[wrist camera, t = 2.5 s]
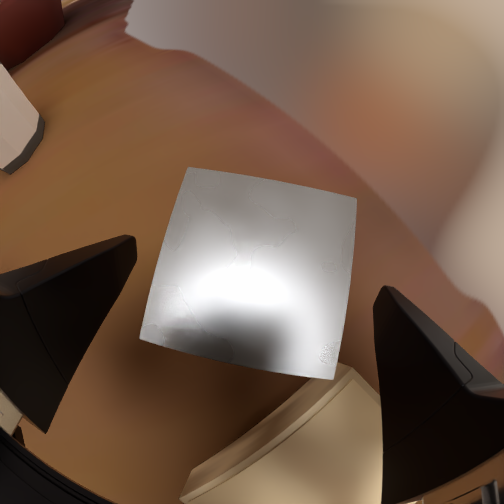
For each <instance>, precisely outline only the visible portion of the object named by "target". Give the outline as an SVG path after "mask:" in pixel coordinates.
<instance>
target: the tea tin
mask: <svg viewBox="0 0 504 504" xmlns="http://www.w3.org/2000/svg"><path fill="white" fill-rule="evenodd" d="M356 207H357V198H353V197H349V196H345V195H340V194H336V193H332V192H328V191H323V190H319V189H314V188H310V187H305V186H300V185H295V184H290V183H285V182H280V181H275V180H269V179H264V178H258V177H252V176H246V175H240V174H234V173H228V172H221V171H214V170H207V169H199V168H191V167H188V169H187V171H186V174H185V177H184V180H183V182H182V185H181V188H180V191H179V194H178V197H177V200H176V203H175V206H174V209H173V212H172V215H171V218H170V222H169V225H168V228H167V231H166V235H165V238H164V241H163V245H162V248H161V252H160V255H159V259H158V262H157V266H156V270H155V274H154V277H153V281H152V285H151V289H150V293H149V297H148V302H147V306H146V310H145V315H144V319H143V324H142V328H141V333H140V338H139V339H142V340H145V341H148V342H151V343H154V344H157V345H161V346H164V347H167V348H171V349H174V350H178V351H181V352H185V353H189V354H193V355H196V356H200V357H204V358H208V359H213V360H217V361H221V362H226V363H230V364H235V365H240V366H245V367H250V368H255V369H260V370H266V371H271V372H277V373H284V374H290V375H297V376H305V377H312V378H321V379H330V380H333V379H334V374H335V370H336V365H337V360H338V355H339V350H340V345H341V339H342V334H343V328H344V322H345V315H346V309H347V302H348V295H349V287H350V279H351V270H352V261H353V250H354V239H355V225H356Z"/></svg>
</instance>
